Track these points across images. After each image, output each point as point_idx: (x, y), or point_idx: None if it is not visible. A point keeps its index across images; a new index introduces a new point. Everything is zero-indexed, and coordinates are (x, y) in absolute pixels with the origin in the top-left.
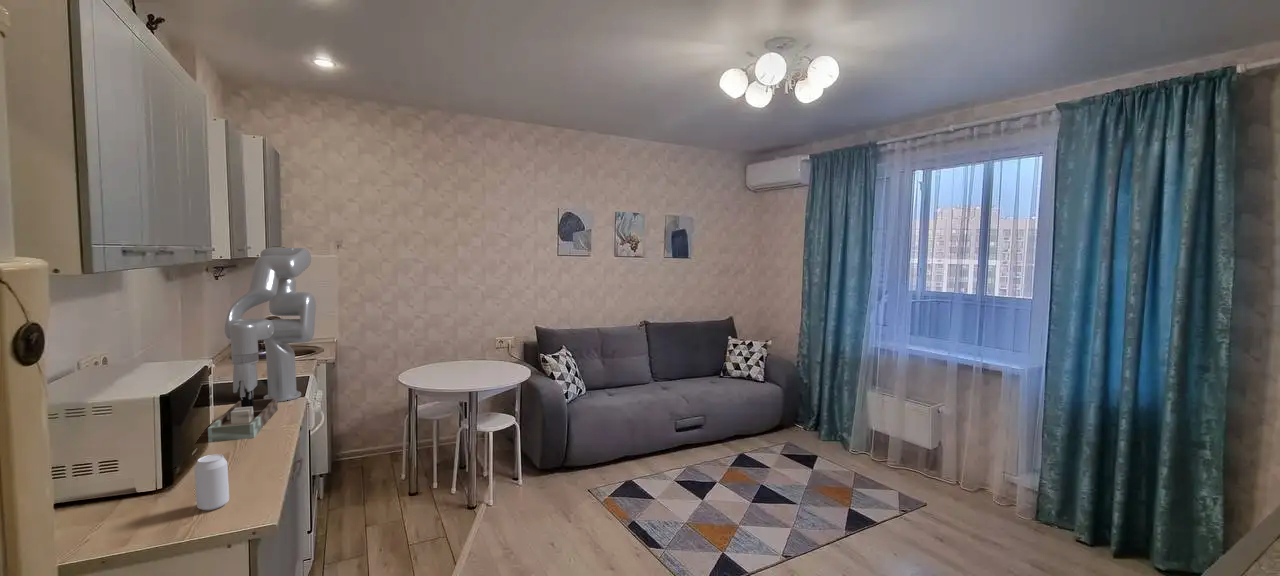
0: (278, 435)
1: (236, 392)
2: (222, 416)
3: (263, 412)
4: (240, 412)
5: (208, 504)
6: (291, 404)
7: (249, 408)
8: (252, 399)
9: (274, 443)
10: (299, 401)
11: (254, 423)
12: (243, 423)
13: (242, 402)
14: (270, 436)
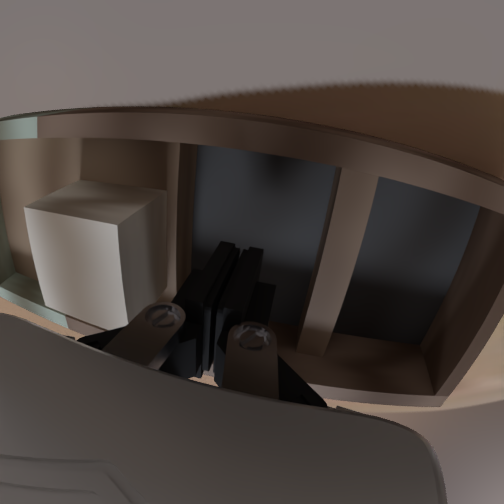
0: (49, 326)
1: (64, 336)
2: (100, 122)
3: None
4: (40, 261)
5: None
6: (467, 387)
7: (85, 314)
8: (197, 373)
9: (5, 308)
10: (482, 402)
11: (6, 297)
12: None
13: (194, 291)
14: None
